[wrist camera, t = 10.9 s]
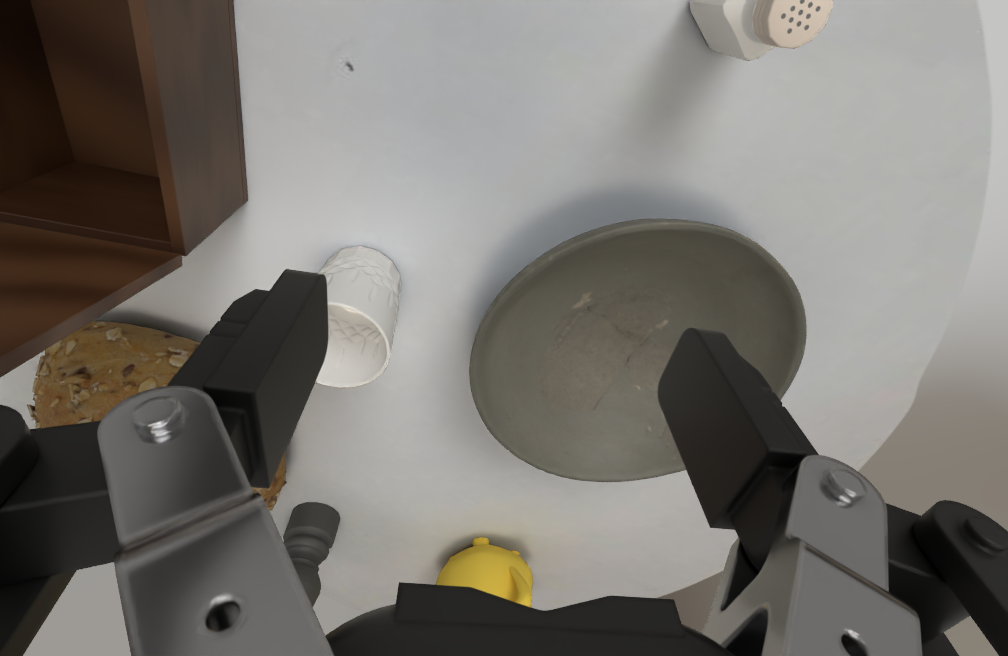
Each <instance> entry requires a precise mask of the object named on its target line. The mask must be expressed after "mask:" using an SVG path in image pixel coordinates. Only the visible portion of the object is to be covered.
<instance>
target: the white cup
mask: <svg viewBox="0 0 1008 656" xmlns="http://www.w3.org/2000/svg"><path fill="white" fill-rule="evenodd" d="M317 274H324V275H325V277H326V280H327V299H328V347H327V352H326V356H325V360H324V363H323V365H322V367H321V370H320V372H319V374H318V377H317V379H316V381H315V382H316V383H319V384H322V385H325V386H330V387H336V388H351V387H357V386H361V385H365V384H367V383H369V382H371V381H373V380H375V379H376V378H377V377H379V376H380V375H381V374H382V373H383V371H384V370H385V369H386V367H387V365H388V362H389V359H390V353H391V348H392V342H393V337H394V332H395V327H396V322H397V314H398V308H399V297H400V293H401V281H400V274H399V272H398V271H397V269H396V267H395V266H394V264H393V262H392V261H391V260H390V259H388V258H387V257H386V256H384V255H383V254H382V253H380V252H379V251H377V250H374V249H370V248H366V247H362V246H356V247H349V248H343V249H341V250H340V251H338V252H337V253H336V254H334V255H333V256H331V257H330V258H329V259H328V261H327V262H326V264H325V265H324V267H323V268H322V269H321V270H320V271H319V272H318V273H317Z"/></svg>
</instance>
